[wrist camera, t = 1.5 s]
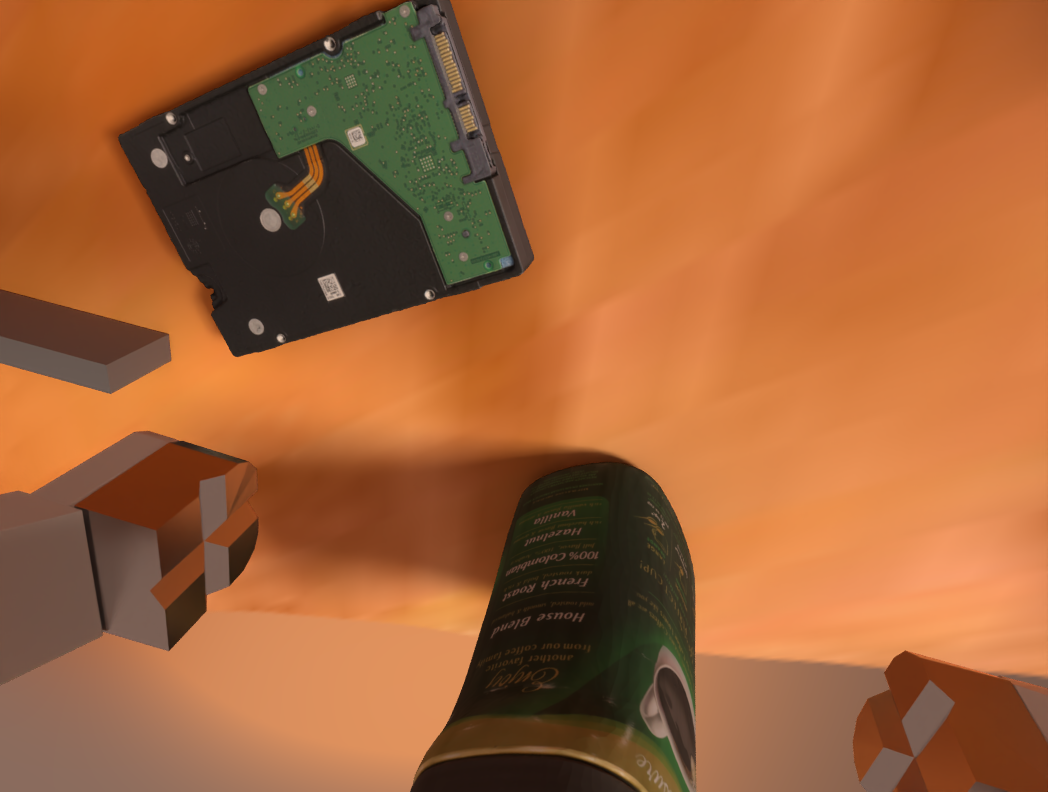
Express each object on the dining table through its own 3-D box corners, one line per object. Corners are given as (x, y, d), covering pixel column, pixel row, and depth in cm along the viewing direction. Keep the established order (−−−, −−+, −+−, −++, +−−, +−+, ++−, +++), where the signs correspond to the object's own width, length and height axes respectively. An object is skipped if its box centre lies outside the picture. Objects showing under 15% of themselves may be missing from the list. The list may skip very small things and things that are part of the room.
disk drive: (270, 342, 32) (542, 257, 27) (235, 363, 29) (527, 275, 24) (160, 131, 28) (451, -12, 23) (110, 136, 26) (422, -23, 21)
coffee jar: (499, 475, 32) (309, 893, 15) (652, 438, 29) (619, 900, 13) (567, 619, 35) (471, 1089, 19) (711, 598, 32) (746, 1128, 16)
